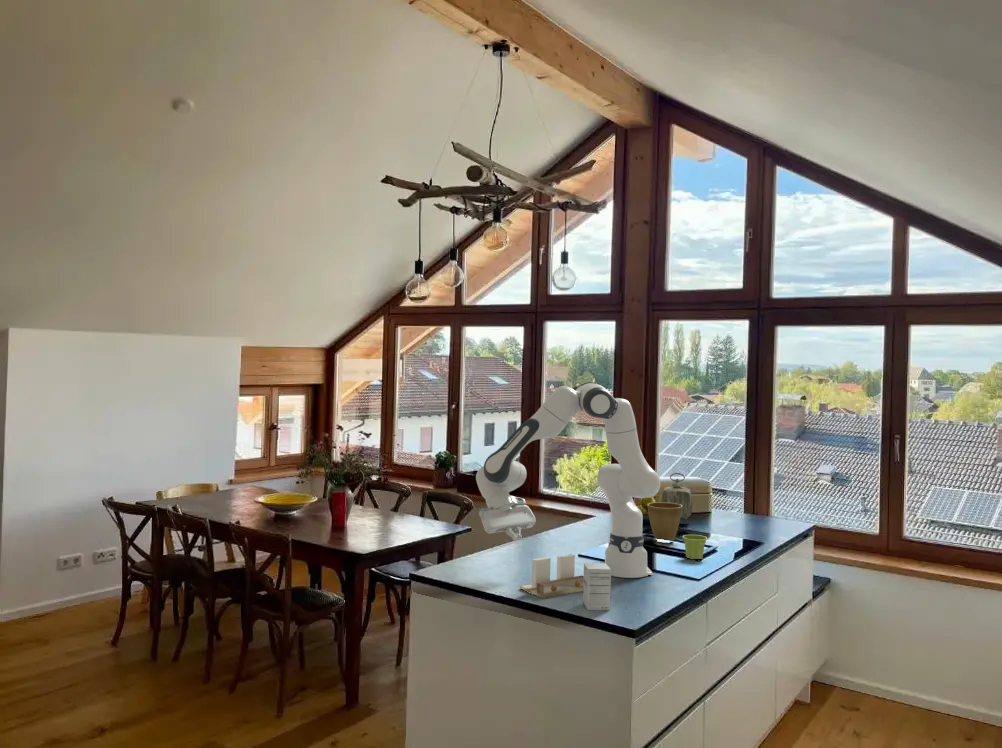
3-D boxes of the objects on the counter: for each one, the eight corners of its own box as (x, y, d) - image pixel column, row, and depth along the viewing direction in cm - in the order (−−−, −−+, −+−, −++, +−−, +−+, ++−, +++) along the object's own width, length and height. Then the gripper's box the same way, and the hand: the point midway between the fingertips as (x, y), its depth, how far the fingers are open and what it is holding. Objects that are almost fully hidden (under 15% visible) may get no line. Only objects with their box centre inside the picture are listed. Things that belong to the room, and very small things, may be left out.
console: (519, 589, 261) (520, 576, 261) (563, 581, 272) (564, 569, 272) (543, 598, 251) (543, 585, 251) (587, 590, 262) (588, 577, 262)
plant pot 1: (658, 536, 353) (659, 500, 353) (688, 542, 343) (688, 505, 343) (639, 541, 342) (640, 504, 342) (669, 547, 332) (670, 509, 332)
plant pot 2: (707, 562, 306) (707, 540, 306) (682, 560, 307) (682, 538, 307) (706, 557, 315) (706, 535, 315) (681, 555, 317) (682, 533, 317)
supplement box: (582, 603, 247) (583, 562, 247) (605, 603, 247) (606, 562, 247) (586, 610, 239) (587, 568, 239) (610, 610, 240) (611, 568, 240)
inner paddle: (556, 583, 263) (557, 556, 263) (570, 580, 267) (570, 554, 267) (560, 584, 262) (561, 557, 262) (574, 582, 265) (574, 555, 265)
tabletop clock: (691, 523, 387) (692, 472, 387) (692, 527, 378) (693, 474, 378) (661, 522, 389) (662, 471, 389) (661, 525, 381) (662, 473, 381)
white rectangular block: (531, 586, 258) (532, 559, 258) (546, 584, 261) (546, 557, 261) (535, 588, 256) (536, 560, 256) (549, 585, 260) (550, 558, 260)
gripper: (480, 503, 270) (497, 537, 262) (528, 498, 282) (545, 530, 274) (473, 514, 273) (489, 548, 265) (520, 509, 285) (537, 541, 277)
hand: (518, 539), depth 270 cm, fingers closed
